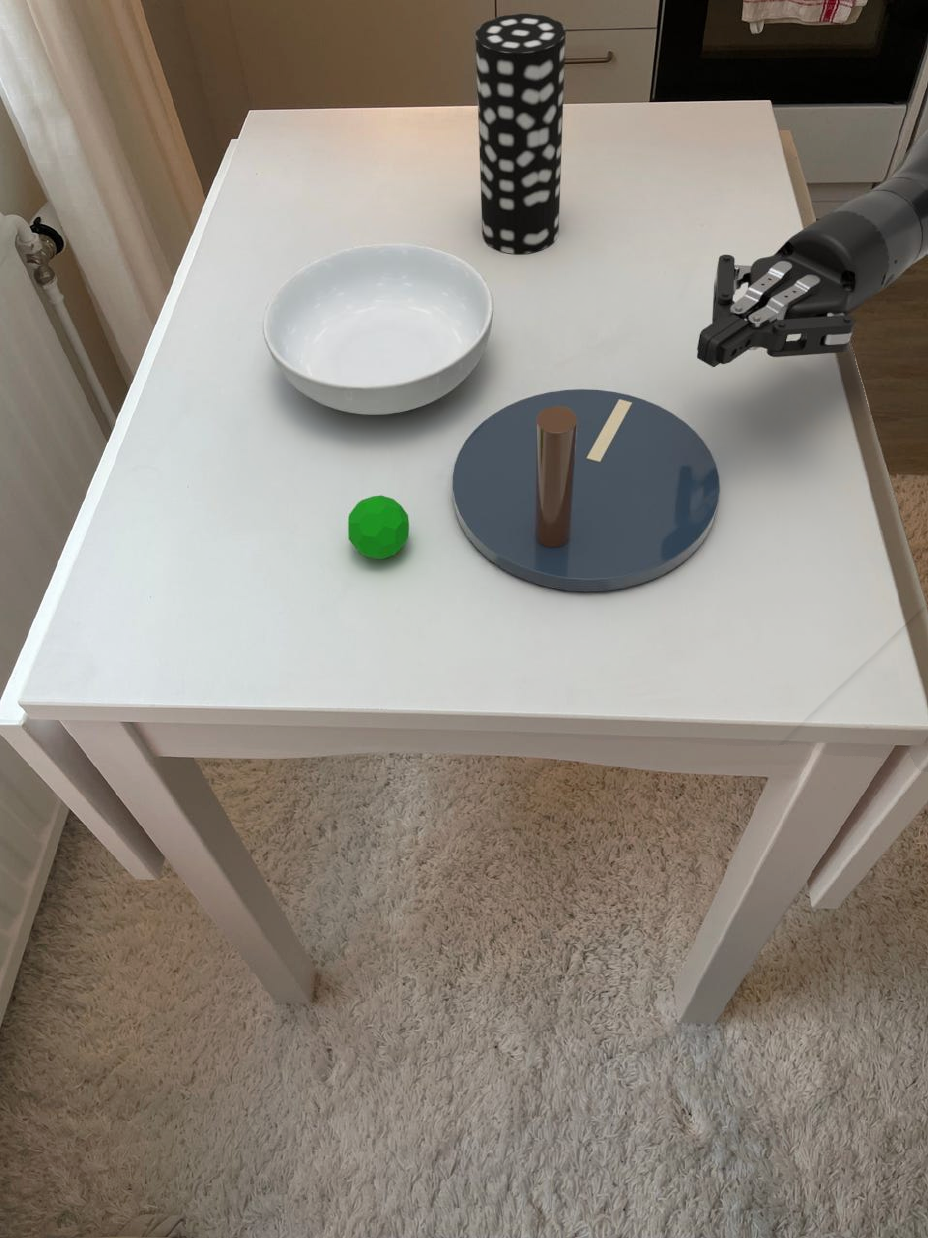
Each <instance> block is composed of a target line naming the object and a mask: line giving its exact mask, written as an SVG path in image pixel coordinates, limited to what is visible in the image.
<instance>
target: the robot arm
mask: <svg viewBox="0 0 928 1238" xmlns="http://www.w3.org/2000/svg"><path fill="white" fill-rule="evenodd" d="M927 255H928V128H927V129H926V130H925V131H923V132H922V133H921V134H920V136H919V137H917V139H916V140H915V141H914V143H912V145H911V146H910V147H909V149H908V150H907V151H906V152H905V154H904V156H903V157H902V159H901V160H900V161H899V163H898V165H897V166H896V168H895V169H894V170H893V172H892V173H891V174H890V176H889V177H888V178H886V179H885V180H884V181H882V182H880V183H878V185H876V186H875V187H873V188H871V189H870V190H868V191H867V192H865V193H863V194H861V195H860V196H857V197H854V198H851V200H847V201H846V202H844V203H843V204H841V205H839V206H838V207H836V208H834V209H833V210H831V211H830V212H828V213H826V214H825V215H823V216H822V217H820V218H819V219H817V220H815V221H813V222H812V223H811V224H809V225H807V226H806V227H804V228H803V229H801V230H800V231H798V232H797V233H795V234H794V235H792V236H791V237H790V238H789V239H787V241H785V242H784V243H783V245H781V247H780V248H778V250H777V251H775V253H774V254H773V255H770V256H766V257H760V258H758V259H756V260H755V261H754V262H753V263H752V264H751V265H744V264H735V262H736V261H735V257H734V256H733V255H730V254H722V255H720V256H719V257H718V260H717V261H718V262H717V266H716V272H715V278H714V284H713V296H712V297H713V298H712V316H711V323H710V324H709V325H707V326H705V327H704V328H703V329H702V330H701V331H700V333H699V337H698V342H697V347H696V350H697V353H696V358H697V359H698V360H700V361H701V362H703V363H705V364H707V365H708V366H710V367H711V368H716V367H717V366H718V365H727V364H730V363H731V362H732V361H734V360H735V359H737V358H738V357H740V356H741V355H742V354H744V353H745V352H747V351H756V350H758V349H759V348H763V349H765V350H766V354H767V355H768V356H770V357H772V358H783V357H784V358H785V357H797V356H812V355H824V354H837V353H838V354H839V353H844V352H846V351H847V349H848V346H849V343H850V341H851V338H852V335H853V331H854V328H855V324H856V318H855V317H853V316H852V315H850V314H851V313H852V312H854V311H856V310H857V309H858V308H860V307H861V306H862V305H864V304H865V303H867V302H868V301H869V300H871V299H872V298H874V297H875V296H877V294H879V293H881V292H882V291H883V290H885V289H887V288H888V287H889V286H891V285H892V283H894V282H895V281H896V280H897V279H898V278H899V277H900V276H901V275H902V274H903V273H905V272H906V270H907V269H909V268H910V267H912V266H913V265H914V264H916V263H918V261H920V260H921V259H923V258H924V257H926V256H927ZM746 283H747V290H746V291H745V294H744V295H743V296H741V297H740V298H739V299H738V300H737V301H734V300H733V299H734V296H735V295H736V291H737V290H740V289H741V287H742V286H743V285H744V284H746ZM789 335H790V336H791V335H792V336H793V335H800V337H799V338H798V339H796V340H787V339H788V337H789Z"/></svg>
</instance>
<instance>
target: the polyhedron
mask: <svg viewBox="0 0 928 1238" xmlns="http://www.w3.org/2000/svg"><path fill="white" fill-rule="evenodd" d="M347 522H348V523H347V524H348V527H347V528H348V529H347V531H348V534H347V535H348V541H349V542H350V543H351V544H352V546H353V547H354V548H355V550H357V551H358V552H359V553H360V554H361V556H364V557H368V558H371V559H374V560H379V559H380V560H381V559H386V558H389V557H393V556H395V555H397V553H398V552H400V550H401V549H402V547H403V546H404V545H405V543H406V542H407V540H408V539H409V537H410V535H409V533H410V522H409V514H408V513H407V512H406V510H405V509H404V507H403V506H402V505H401V503H399V502H397V500H395V499H394V498H391V497H388V496H385V495H382V494H381V495H374V496H370V497H367V498H364V499H362V500H361V499H360V501H359V502H358V503H357V504H356V505H355V506H354V507H353V509H352V510H351V511H350V512H349V514H348V521H347Z"/></svg>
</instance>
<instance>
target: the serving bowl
mask: <svg viewBox="0 0 928 1238" xmlns="http://www.w3.org/2000/svg"><path fill="white" fill-rule="evenodd" d="M493 316H494V299H493V295H492V292H491V290H490V287H489V284H488V283H487V281H486V280H485V278H484V277H483V276H482V275H481V274H480V272H479V271H478V270H477V269H475V268H474V267H473V266H472V265H471V264H469V263H468V262H466V261H465V260H463V259H462V258H460V257H458V256H456V255H454V254H451V253H449V252H446V251H443V250H440V249H437V248H435V247H434V248H433V247H429V246H425V245H422V244H421V245H420V244H412V243H403V242H402V243H400V242H399V243H398V242H397V243H395V242H389V243H387V242H386V243H373V244H372V243H371V244H365V245H359V246H354V247H350V248H345V249H341V250H338V251H335V252H332V253H330V254H327V255H324V256H321V257H320V258H317V259H315V260H313V261H312V262H309V263H308V264H306V265H304V266H303V267H301V268H299V269H298V270H296V271H295V272H294V273H293V274H291V275H290V276H289V277H288V278H286V280H285V281H283V282H282V283H281V285H279V287H277V289H276V291H275V292H274V293H273V294H272V296H271V297H270V299H269V301H268V303H267V305H266V307H265V310H264V314H263V319H262V334H263V337H264V342H265V345H266V347H267V349H268V351H269V353H270V356H271V357H272V359H273V361H274V363H275V365H276V367H277V368H278V370H279V371H280V372H281V373H282V375H283V376H284V378H285V379H286V380H287V381H288V382H289V383H290V384H291V385H292V386H293V387H294V388H296V390H297V391H299V392H300V393H302V394H303V395H305V396H306V397H308V398H309V399H311V400H313V401H314V402H317V403H319V404H320V405H323V406H326V407H328V408H331V409H334V410H337V411H341V412H345V413H350V414H359V415H371V416H373V415H376V416H377V415H379V416H380V415H381V416H382V415H391V414H399V413H402V412H407V411H411V410H414V409H417V408H421V407H423V406H426V405H428V404H431V403H433V402H435V401H436V400H438V399H440V398H442V397H444V396H445V395H447V394H449V393H450V392H452V391H453V390H454V389H455V388H456V387H458V386H459V385H460V384H461V383H462V382H464V380H466V379H467V377H468V376H469V375H470V374H471V373H472V372H473V370H474V369H475V368H476V367H477V365H478V363H479V361H480V360H481V358H482V357H483V355H484V353H485V350H486V348H487V345H488V343H489V339H490V335H491V330H492V325H493V318H494V317H493Z"/></svg>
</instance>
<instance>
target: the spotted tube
mask: <svg viewBox="0 0 928 1238" xmlns="http://www.w3.org/2000/svg"><path fill="white" fill-rule="evenodd" d="M566 34H567V33H566V27H565V26H564V25H563V24H562V23H561V22H560V21H558V20H557V19H555V18H552V17H550V16H547V15H542V14H537V13H513V14H506V15H501V16H497V17H494V18H491V19H489V20H487V21H486V22H483V23H482V24H481V25H480V26H479V27H478V28H477V30H476V32H475V62H476V63H475V65H476V86H477V87H476V88H477V89H476V91H477V92H476V93H477V118H478V121H477V122H478V148H479V179H480V203H481V204H480V206H481V232H482V238H483V240H484V242H485V244H487V245H488V246H489V247H491V248H492V249H494V250H497V251H499V252H502V253H505V254H514V255H526V254H532V253H536V252H539V251H543V250H544V249H547V248H548V247H550V246H551V245H552V244H553V243H555V241H557V239H558V236H559V234H560V233H559V231H560V205H561V204H560V203H561V201H560V200H561V176H562V146H563V120H564V91H565V90H564V89H565V88H564V87H565V63H566V62H565V60H566Z"/></svg>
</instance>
